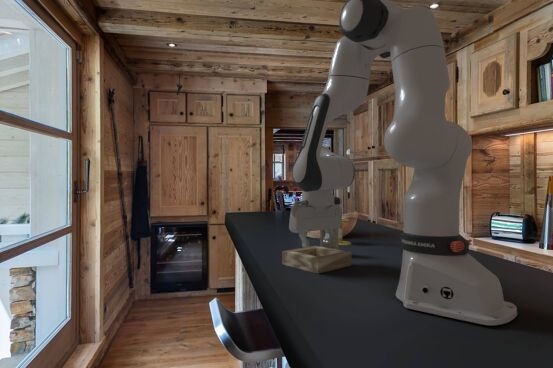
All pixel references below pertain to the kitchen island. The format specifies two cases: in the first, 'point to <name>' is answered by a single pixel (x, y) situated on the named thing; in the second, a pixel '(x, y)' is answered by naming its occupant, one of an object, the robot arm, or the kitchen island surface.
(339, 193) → the candle
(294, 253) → the wooden tray
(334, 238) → the skincare box
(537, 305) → the kitchen island surface
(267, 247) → the kitchen island surface
